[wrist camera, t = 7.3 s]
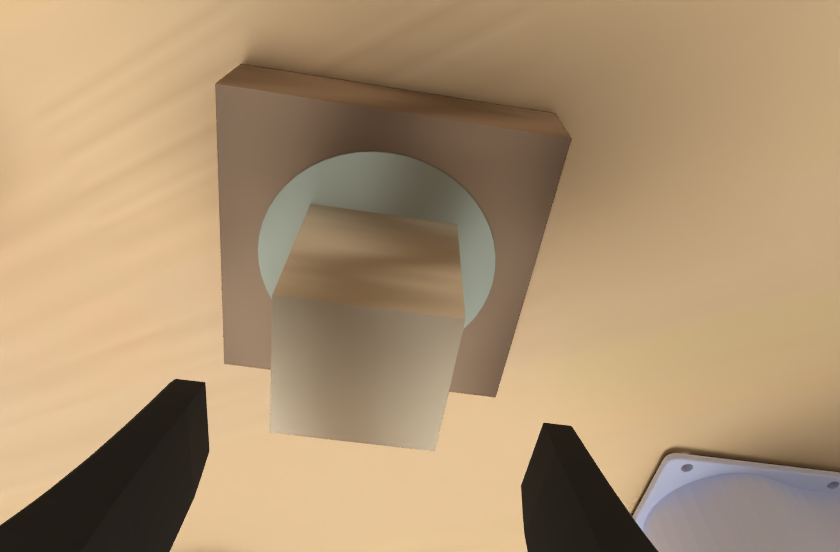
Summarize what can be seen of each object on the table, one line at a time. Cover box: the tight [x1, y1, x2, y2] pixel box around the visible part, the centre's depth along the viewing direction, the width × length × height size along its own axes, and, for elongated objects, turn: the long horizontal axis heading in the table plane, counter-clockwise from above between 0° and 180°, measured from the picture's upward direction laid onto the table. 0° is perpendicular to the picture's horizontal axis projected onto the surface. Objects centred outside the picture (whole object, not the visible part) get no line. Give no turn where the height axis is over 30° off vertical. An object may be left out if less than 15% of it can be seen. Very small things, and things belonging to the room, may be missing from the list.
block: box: [270, 204, 466, 451], centre depth 17 cm, size 4×4×5 cm
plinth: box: [215, 64, 571, 397], centre depth 20 cm, size 10×10×3 cm
